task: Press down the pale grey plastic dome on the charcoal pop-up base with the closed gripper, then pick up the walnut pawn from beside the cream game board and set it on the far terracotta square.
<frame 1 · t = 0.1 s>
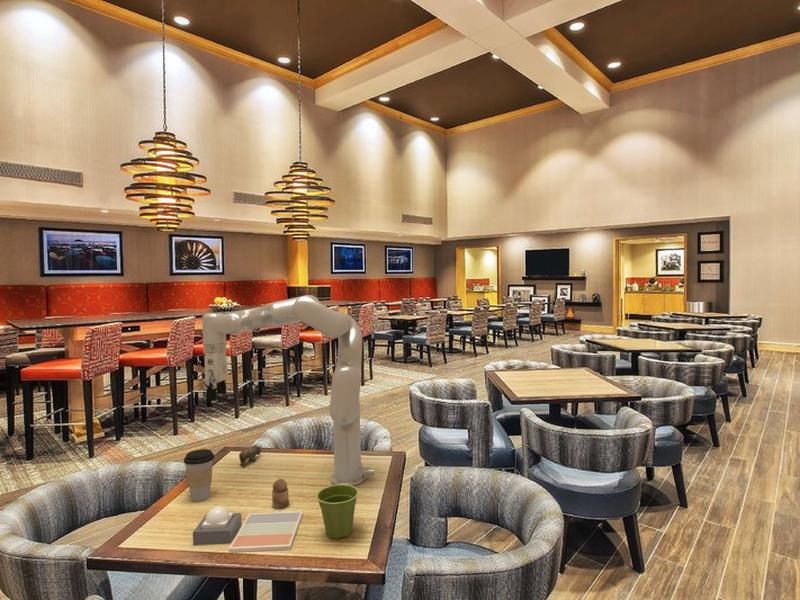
hand: (216, 397, 165), 31 cm above the table, tool pointing down, fingers open, 9 cm apart
game board: (268, 532, 133), on the table
walnut pawn: (280, 505, 149), on the table
plant pot: (338, 533, 132), on the table
dome base: (218, 534, 133), on the table
rhino figurine: (251, 461, 189), on the table
pop dome: (217, 518, 133), point 5 cm above the table, slide at 0.0 cm
coffee cup: (200, 498, 156), on the table
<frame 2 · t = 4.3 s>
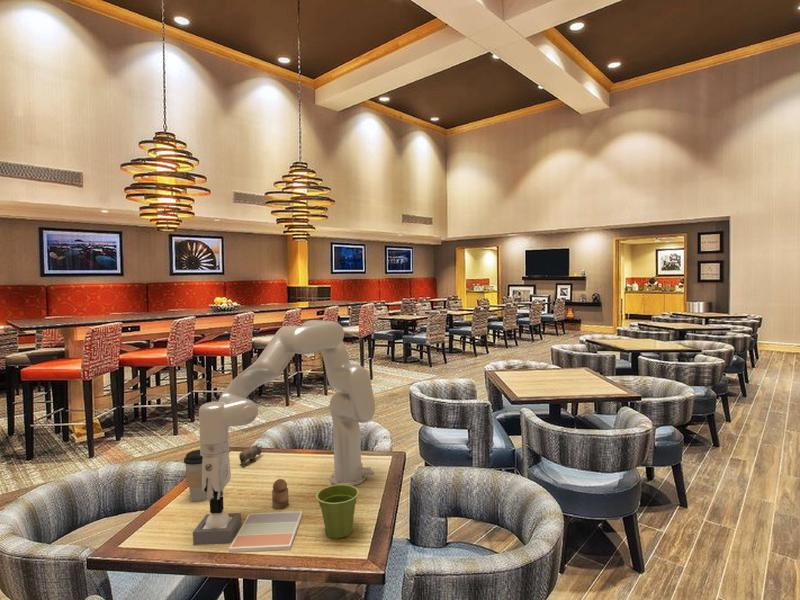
hand: (216, 511, 133), 7 cm above the table, tool pointing down, fingers closed
pop dome: (217, 522, 133), point 3 cm above the table, slide at 1.2 cm, touching gripper
everything else where it was.
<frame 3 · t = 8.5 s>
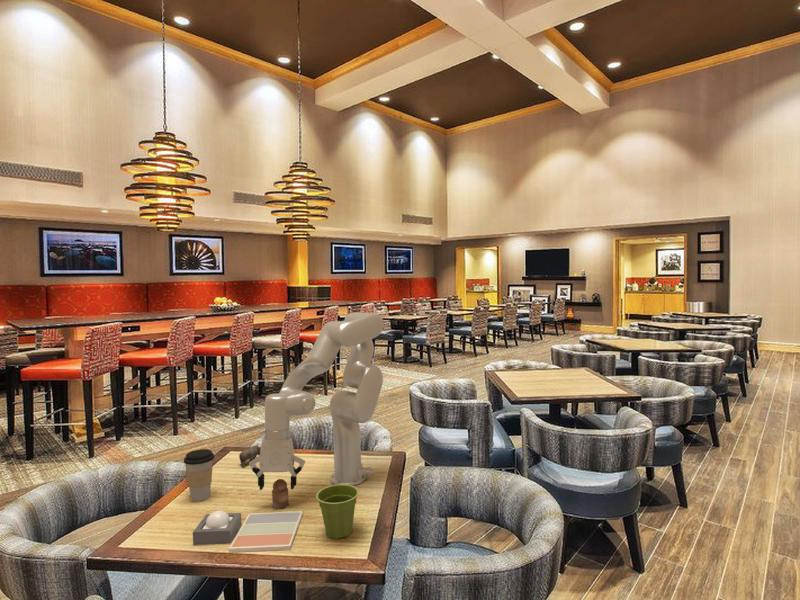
hand: (277, 487, 148), 6 cm above the table, tool pointing down, fingers open, 9 cm apart
pop dome: (217, 522, 133), point 3 cm above the table, slide at 1.2 cm
everything else where it was.
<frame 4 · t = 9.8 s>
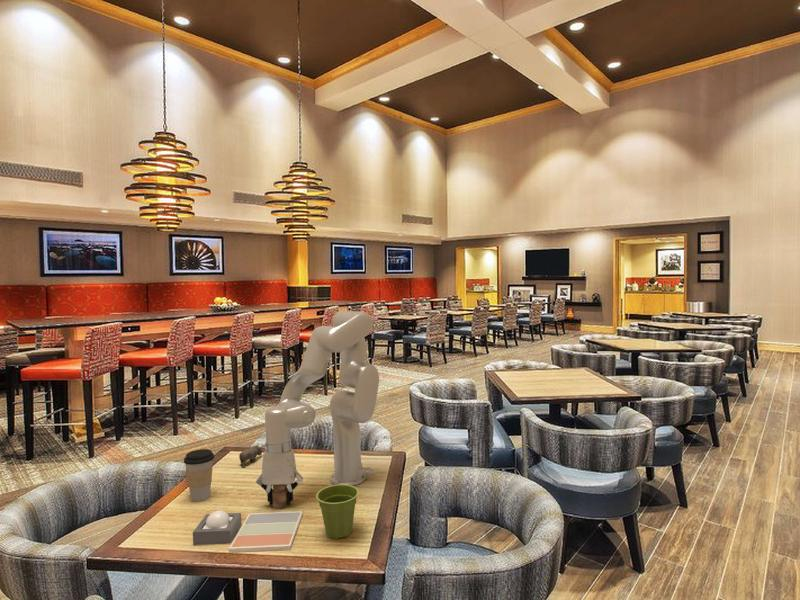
hand: (280, 502, 149), 1 cm above the table, tool pointing down, fingers closed on walnut pawn, 5 cm apart
walnut pawn: (280, 505, 149), on the table, touching gripper
everything else where it was.
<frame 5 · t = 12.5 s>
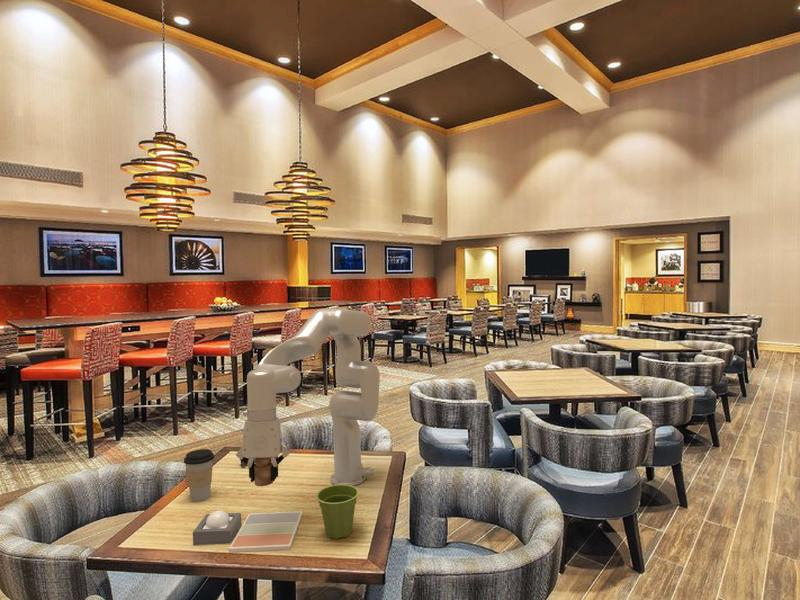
hand: (263, 479, 131), 16 cm above the table, tool pointing down, fingers closed on walnut pawn, 4 cm apart
walnut pawn: (263, 482, 131), point 15 cm above the table, touching gripper
everything else where it was.
when the fingers open (3 cm above the table, at t = 15.6 s): walnut pawn drops 1 cm, resting on game board.
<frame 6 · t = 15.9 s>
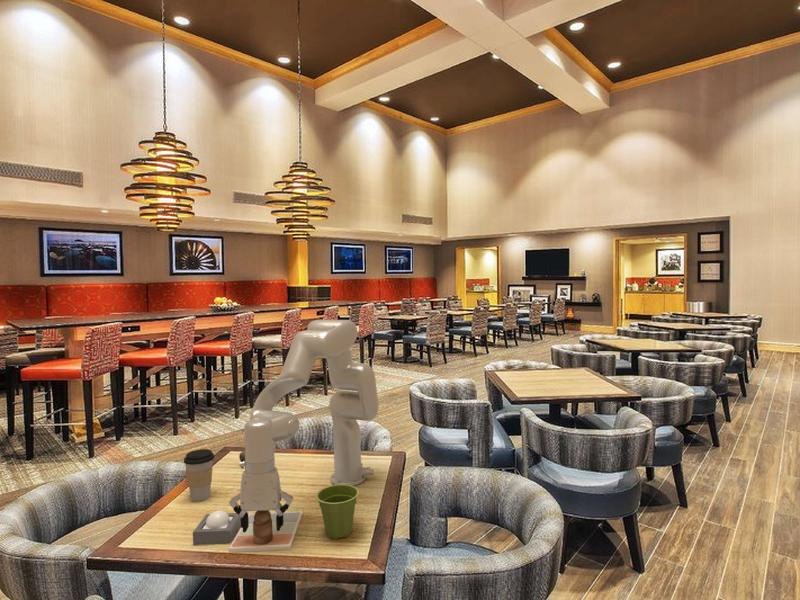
hand: (262, 528, 127), 4 cm above the table, tool pointing down, fingers open, 8 cm apart
walnut pawn: (263, 539, 127), point 1 cm above the table, touching game board
everything else where it was.
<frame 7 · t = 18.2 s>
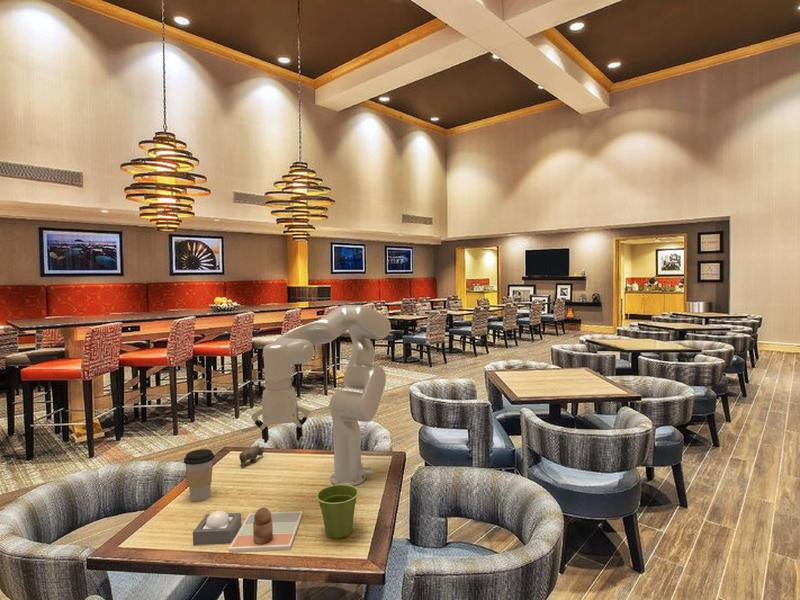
hand: (282, 440, 142), 23 cm above the table, tool pointing down, fingers open, 9 cm apart
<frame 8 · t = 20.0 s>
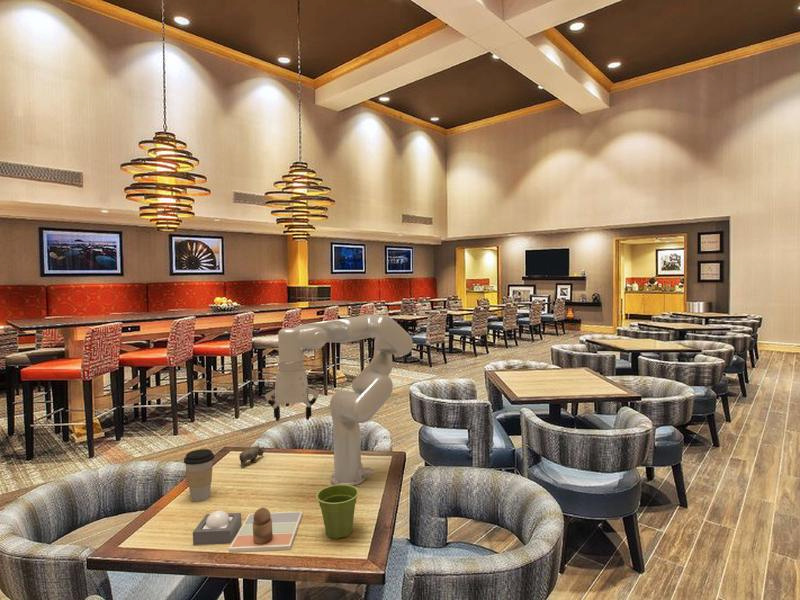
hand: (293, 419, 153), 26 cm above the table, tool pointing down, fingers open, 9 cm apart
at the end: pop dome slide at 1.2 cm; walnut pawn inside the target area (0.1 cm from its centre), point 1.1 cm above the table; walnut pawn tilted 1° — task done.
